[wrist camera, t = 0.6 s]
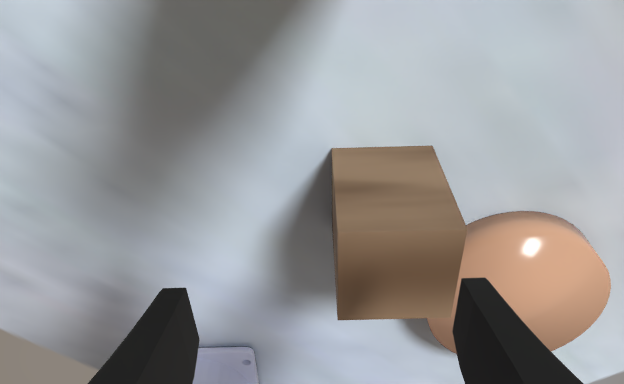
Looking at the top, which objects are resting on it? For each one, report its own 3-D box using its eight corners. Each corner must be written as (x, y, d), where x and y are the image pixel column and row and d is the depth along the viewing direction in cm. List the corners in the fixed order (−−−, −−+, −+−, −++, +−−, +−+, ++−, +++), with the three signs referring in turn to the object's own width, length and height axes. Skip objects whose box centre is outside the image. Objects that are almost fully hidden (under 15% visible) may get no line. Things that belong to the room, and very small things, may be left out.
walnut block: (422, 224, 25) (450, 317, 20) (332, 226, 25) (337, 320, 20) (432, 145, 22) (467, 229, 17) (331, 148, 22) (337, 232, 17)
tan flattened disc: (565, 331, 29) (581, 360, 27) (413, 334, 29) (419, 363, 28) (614, 208, 24) (637, 235, 22) (429, 213, 24) (437, 239, 22)
